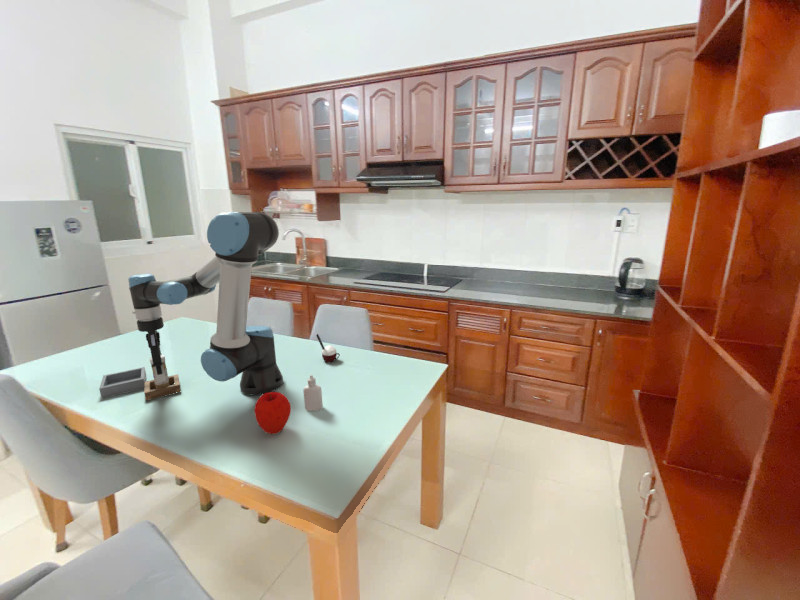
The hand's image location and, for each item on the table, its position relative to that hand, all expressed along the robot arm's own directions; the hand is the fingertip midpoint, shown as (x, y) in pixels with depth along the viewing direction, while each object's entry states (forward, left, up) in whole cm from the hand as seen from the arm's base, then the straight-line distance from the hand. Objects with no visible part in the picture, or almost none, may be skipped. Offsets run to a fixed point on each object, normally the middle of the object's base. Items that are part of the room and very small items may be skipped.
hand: (161, 379), depth 130 cm
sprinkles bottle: (0, 0, -5) cm, 5 cm away
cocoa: (-11, -61, -5) cm, 62 cm away
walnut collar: (0, 0, -5) cm, 5 cm away
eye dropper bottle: (-45, -41, -5) cm, 61 cm away
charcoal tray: (+13, +12, -5) cm, 18 cm away
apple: (-50, -27, -5) cm, 57 cm away
